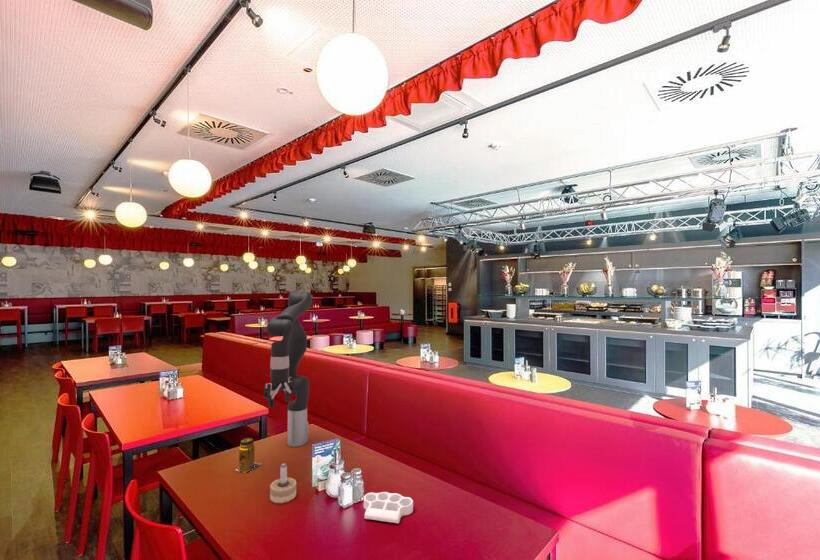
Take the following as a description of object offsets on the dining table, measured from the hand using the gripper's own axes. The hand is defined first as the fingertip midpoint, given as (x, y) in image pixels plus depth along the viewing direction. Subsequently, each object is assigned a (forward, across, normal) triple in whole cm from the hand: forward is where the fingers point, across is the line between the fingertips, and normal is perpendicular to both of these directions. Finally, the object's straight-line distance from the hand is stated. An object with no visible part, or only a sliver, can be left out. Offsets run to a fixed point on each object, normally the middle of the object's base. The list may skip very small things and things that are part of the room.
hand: (279, 404), depth 158 cm
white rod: (+28, +12, +16) cm, 34 cm away
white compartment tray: (+29, 0, +54) cm, 61 cm away
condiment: (+28, +4, -14) cm, 32 cm away
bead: (+28, +12, +16) cm, 34 cm away
